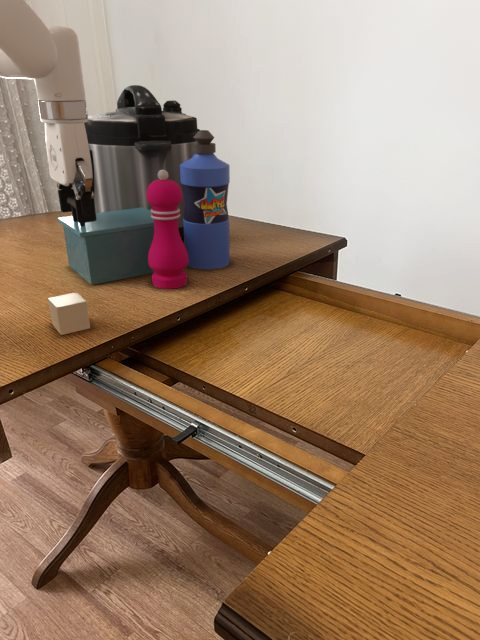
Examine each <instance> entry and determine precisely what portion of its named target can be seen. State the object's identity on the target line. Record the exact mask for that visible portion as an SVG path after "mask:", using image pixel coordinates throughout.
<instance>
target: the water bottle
mask: <svg viewBox="0 0 480 640" xmlns="http://www.w3.org/2000/svg"><path fill="white" fill-rule="evenodd" d="M193 138H194V139H195V140H196V141H197V143H193V152H194V153H195V154H194V155H193V157H192V158H191V159H189V160H187V161H185V162H184V163H182V164H180V180H181V183H182V189H183V195H184V202H185V208H184V219H183V224H184V238H183V244H184V246H185V248H186V250H187V253H188V259H189V263H188V265H187V267H190V268H193V269H196V270H197V269H198V270H215V269H222V268H225V267H227V266H228V265H229V264H230V262H231V259H230V257H231V256H230V251H231V249H230V243H231V242H230V215H229V210H228V196H229V185H230V179H231V178H230V175H231V174H230V164H229V163H227V162H225V161H223V160H222V159H220V158H218V157H217V155H216V154H215V153H216V152H217V150H216V149H217V148H216V147H217V146H216V143H215V142H213V141H214V139H215V136H214V135H213V133H211V132H210V131H209V130H208V129H207V130H206V129H200V130H199V131H198V132H197V133H196V135H195V136H194V137H193Z"/></svg>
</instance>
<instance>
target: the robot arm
mask: <svg viewBox="0 0 480 640" xmlns="http://www.w3.org/2000/svg"><path fill="white" fill-rule="evenodd" d="M0 78H1V79H15V80H17V79H18V80H19V79H21V80H33V81H34V86H35V91H36V96H37V104H38V112H39V116H40V122H41V123H43V124H44V138H45V148H46V157H47V164H48V173H49V177H50V178H51V180H53V181H55V182H56V187H57V194H58V201H59V208H60V212H62V213H69V212H71V213H72V210H71V205H69V204H68V203H67V198H68V197H69V196H75V197H76V198H77V199H74V200H75V207H76V214H77V221H78V222H79V223H86V222H93V221H96V212H95V204H94V193H93V186H92V180H93V174H92V164H91V157H90V151H89V145H88V140H87V134H86V129H85V125H84V123H85V122H88V116H89V115H88V107H87V101H86V92H85V83H84V75H83V67H82V59H81V50H80V43H79V37H78V35H77V32H76V31H75V30H74V29H72V28H71V27H67V26H62V25H61V26H60V25H46V24H45V23H44V21H43V20H42V19H41V18H40V17H39V16H38V14H37V13H36V11H35V10H34V9H33V8H32V7H31V6H30V4H28V2H27V1H26V0H0ZM78 187H80V191H79V188H78Z"/></svg>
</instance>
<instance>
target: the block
mask: <svg viewBox="0 0 480 640" xmlns="http://www.w3.org/2000/svg"><path fill="white" fill-rule="evenodd" d="M47 302H48V307H49V314H50V319H51V324H52V326H53V327H54V328H55V330H56V331H57V332H58V333H59V334H60V336H64V335H68V334H73V333H76V332H77V333H78V332H81V331H85V330H89V329H91V322H90V321H91V320H90V316H89V315H90V314H89V307H88V301H87V300H86V299H85V298H83V297H82V296H81V294H79V293H78V292H72V293H66V294H60V295H57V296H51V297H47Z"/></svg>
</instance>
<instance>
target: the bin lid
mask: <svg viewBox="0 0 480 640" xmlns="http://www.w3.org/2000/svg"><path fill="white" fill-rule="evenodd" d="M74 199H77V198H76V197H75V196H69V197H68V198H67V203H68V204H69V205H71V210H72V211H71V215H70V216H69V215H68V216H62V217H57V223H58V224H61V225H62V227H63V226H65V227H66V228H68V229H69V230H71V231H72V232H73V233H75V234H76V235H78V236H79V237H87V236H94V235H100V234H107V233H114V232H121V231H128V230H135V229H142V228H149V227H155V225H154V219H153V218H152V217H151V211H150V210H148V209H146V208H144V207H142V208H134V209H126V210H118V211H110V212H102V213H96V221H93V222H86V223H79V222H78V221H77V214H76V207H75V200H74Z"/></svg>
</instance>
